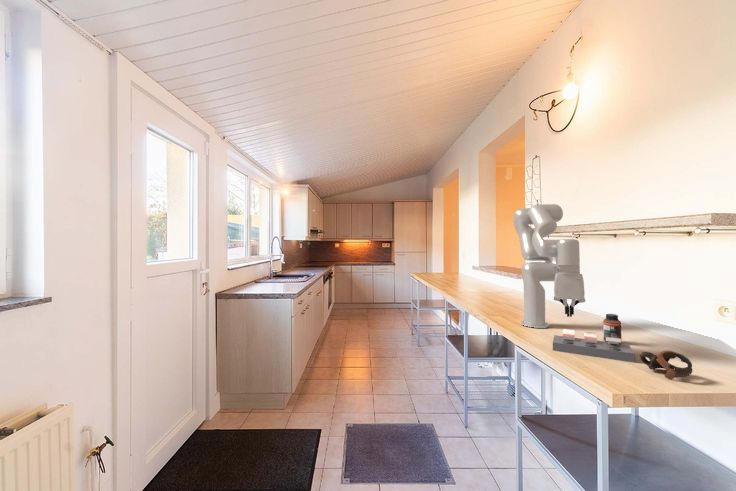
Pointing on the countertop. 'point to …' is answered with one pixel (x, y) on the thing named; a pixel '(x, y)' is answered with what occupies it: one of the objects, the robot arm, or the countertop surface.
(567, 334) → the rocker
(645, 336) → the countertop surface
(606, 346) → the power strip
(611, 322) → the supplement bottle
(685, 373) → the brown linked rings
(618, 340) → the rocker
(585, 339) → the rocker middle
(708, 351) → the countertop surface
